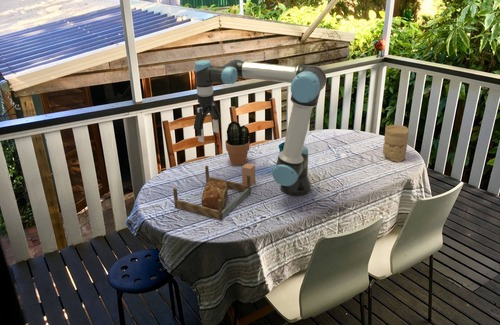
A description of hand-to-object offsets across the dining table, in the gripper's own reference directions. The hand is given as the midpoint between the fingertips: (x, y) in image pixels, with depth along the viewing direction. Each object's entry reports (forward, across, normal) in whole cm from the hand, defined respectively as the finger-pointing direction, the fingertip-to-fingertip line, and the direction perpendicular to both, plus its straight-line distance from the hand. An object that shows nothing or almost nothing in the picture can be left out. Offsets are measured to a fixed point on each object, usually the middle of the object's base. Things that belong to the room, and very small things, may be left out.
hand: (208, 136), depth 219 cm
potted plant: (+28, -33, -4) cm, 44 cm away
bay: (+28, +10, +7) cm, 31 cm away
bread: (+29, +12, +9) cm, 33 cm away
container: (+30, -76, +75) cm, 111 cm away
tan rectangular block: (+29, -13, +14) cm, 34 cm away
